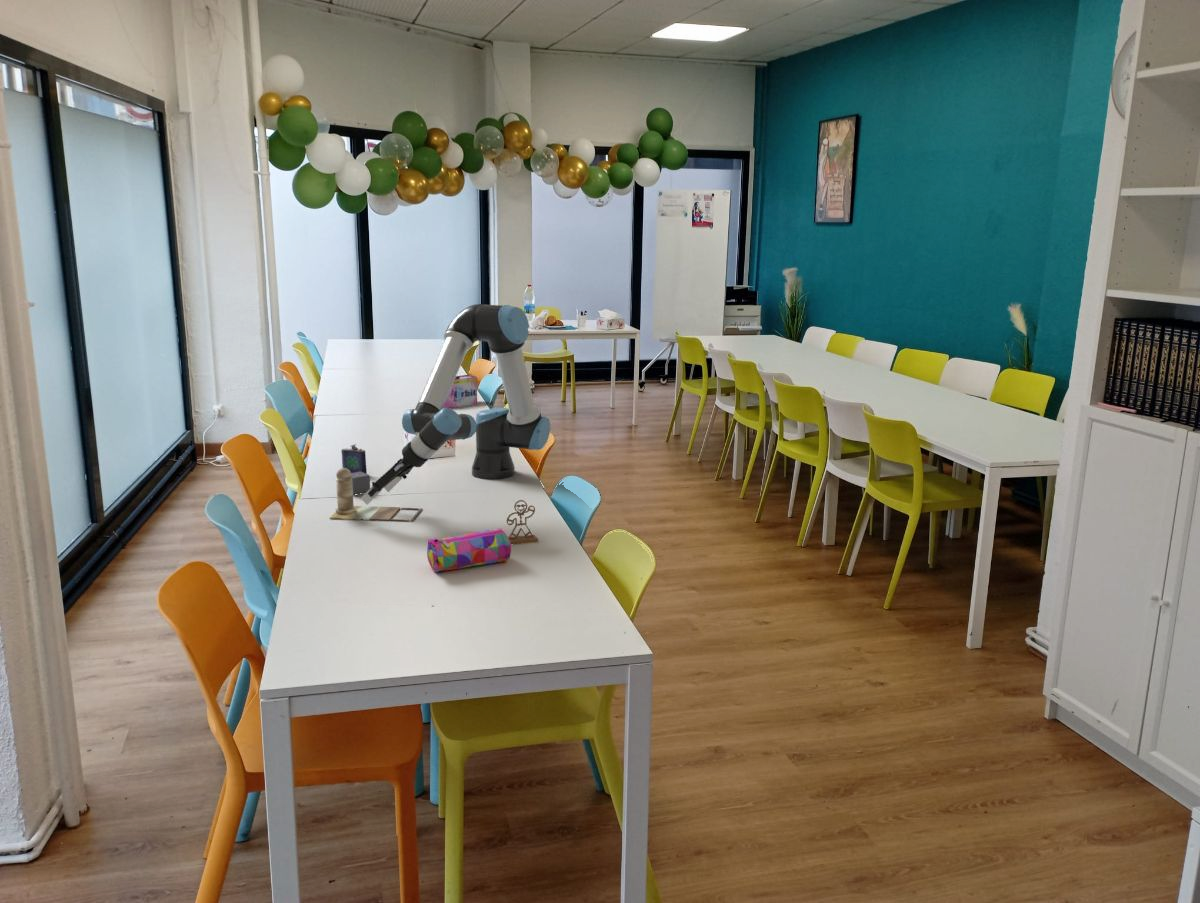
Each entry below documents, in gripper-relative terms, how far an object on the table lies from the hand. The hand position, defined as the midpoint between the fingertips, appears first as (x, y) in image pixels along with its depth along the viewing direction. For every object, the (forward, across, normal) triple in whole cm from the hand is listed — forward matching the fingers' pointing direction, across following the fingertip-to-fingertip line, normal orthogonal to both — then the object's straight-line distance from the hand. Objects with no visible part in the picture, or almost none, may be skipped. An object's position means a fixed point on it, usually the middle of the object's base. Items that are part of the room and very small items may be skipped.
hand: (375, 494), depth 278 cm
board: (+6, -1, +4) cm, 7 cm away
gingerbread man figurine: (-30, +10, +40) cm, 51 cm away
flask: (+26, -41, -16) cm, 51 cm away
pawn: (+11, 0, -3) cm, 12 cm away
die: (+17, -21, -8) cm, 28 cm away
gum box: (+37, -168, -27) cm, 174 cm away
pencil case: (-25, +31, +35) cm, 53 cm away
